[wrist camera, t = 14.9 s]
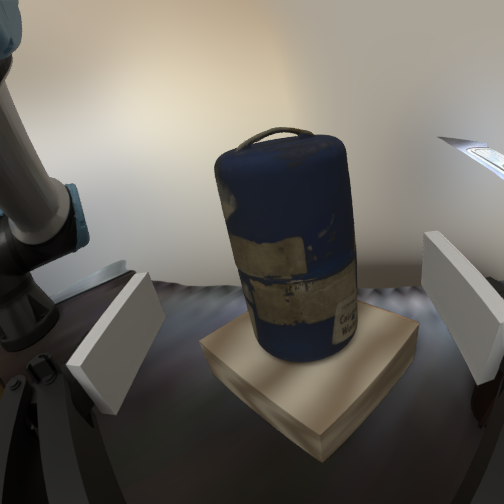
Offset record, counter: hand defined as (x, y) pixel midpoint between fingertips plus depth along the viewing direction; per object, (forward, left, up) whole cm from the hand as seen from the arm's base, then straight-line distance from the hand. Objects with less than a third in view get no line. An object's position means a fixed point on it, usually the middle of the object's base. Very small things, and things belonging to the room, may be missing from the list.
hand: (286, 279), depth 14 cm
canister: (-7, +7, -12) cm, 16 cm away
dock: (-7, +7, -17) cm, 19 cm away
